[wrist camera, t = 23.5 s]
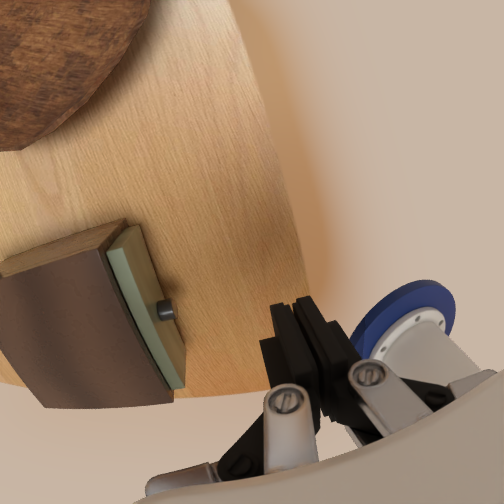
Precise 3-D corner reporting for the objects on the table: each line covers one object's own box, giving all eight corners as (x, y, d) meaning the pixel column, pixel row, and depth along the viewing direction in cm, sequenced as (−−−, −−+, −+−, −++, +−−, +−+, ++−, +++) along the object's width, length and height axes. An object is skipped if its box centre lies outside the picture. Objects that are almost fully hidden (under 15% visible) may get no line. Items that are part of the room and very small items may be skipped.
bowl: (78, 187, 19) (47, 201, 14) (-51, 106, 12) (-81, 108, 7) (215, -15, 14) (218, -47, 10) (46, -52, 7) (29, -70, 2)
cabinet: (125, 217, 20) (97, 248, 14) (177, 350, 26) (173, 402, 20) (5, 259, 19) (-33, 291, 13) (63, 366, 25) (44, 408, 19)
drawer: (153, 220, 20) (140, 242, 16) (198, 347, 25) (199, 385, 20) (16, 263, 19) (-11, 287, 15) (72, 366, 24) (59, 398, 19)
